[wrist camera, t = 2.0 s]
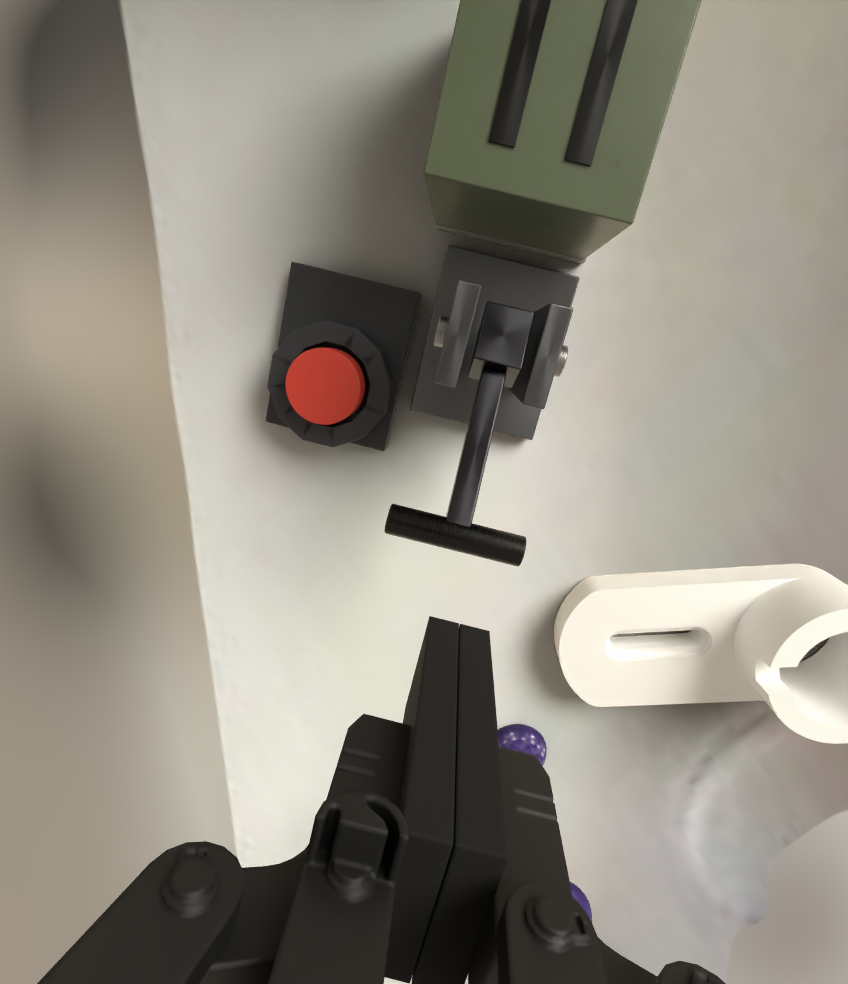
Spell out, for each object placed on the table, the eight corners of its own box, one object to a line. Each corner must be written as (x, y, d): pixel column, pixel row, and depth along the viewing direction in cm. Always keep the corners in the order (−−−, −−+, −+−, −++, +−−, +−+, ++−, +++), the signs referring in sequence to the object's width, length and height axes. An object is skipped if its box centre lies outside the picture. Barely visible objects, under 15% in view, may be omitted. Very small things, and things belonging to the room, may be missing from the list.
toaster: (482, 14, 31) (490, -158, 21) (643, 53, 31) (736, -100, 21) (434, 228, 34) (420, 174, 24) (582, 264, 34) (635, 226, 24)
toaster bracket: (530, 437, 37) (558, 478, 26) (411, 407, 37) (387, 435, 26) (576, 279, 34) (630, 246, 23) (448, 247, 35) (439, 199, 23)
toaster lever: (513, 567, 26) (524, 565, 23) (384, 535, 26) (382, 529, 23) (562, 345, 28) (576, 322, 25) (442, 315, 28) (445, 289, 25)
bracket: (857, 559, 38) (939, 604, 31) (846, 676, 40) (920, 740, 33) (551, 578, 39) (568, 623, 33) (556, 688, 41) (572, 752, 35)
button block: (297, 264, 35) (282, 256, 33) (421, 294, 35) (417, 290, 32) (270, 421, 38) (254, 427, 35) (386, 450, 38) (379, 459, 35)
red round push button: (300, 339, 34) (292, 339, 32) (372, 357, 34) (367, 358, 32) (288, 411, 35) (279, 414, 33) (357, 428, 35) (351, 432, 33)
